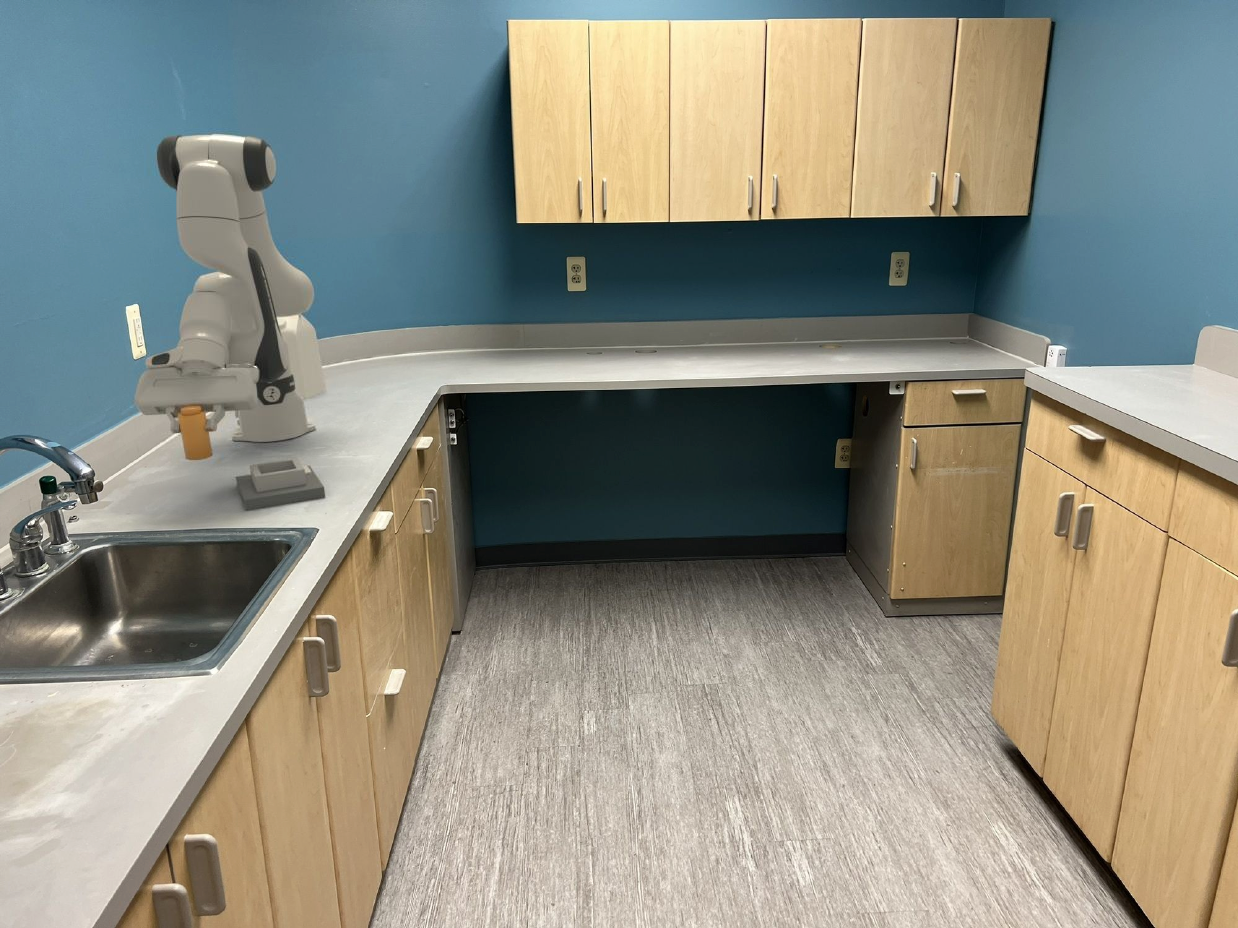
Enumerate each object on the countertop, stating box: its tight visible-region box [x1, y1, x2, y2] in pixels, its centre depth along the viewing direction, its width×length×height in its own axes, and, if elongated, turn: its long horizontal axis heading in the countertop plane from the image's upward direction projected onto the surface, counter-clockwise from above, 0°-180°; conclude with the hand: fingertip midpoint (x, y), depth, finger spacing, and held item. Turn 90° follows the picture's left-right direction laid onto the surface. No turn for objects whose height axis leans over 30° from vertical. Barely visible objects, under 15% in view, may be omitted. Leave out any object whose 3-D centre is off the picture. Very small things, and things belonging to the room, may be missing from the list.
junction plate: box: [235, 457, 326, 511], centre depth 166 cm, size 16×14×5 cm
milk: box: [277, 313, 327, 401], centre depth 248 cm, size 12×12×26 cm
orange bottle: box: [177, 406, 213, 461], centre depth 154 cm, size 4×4×9 cm
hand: (193, 431), depth 153 cm, fingers closed on orange bottle, 4 cm apart
